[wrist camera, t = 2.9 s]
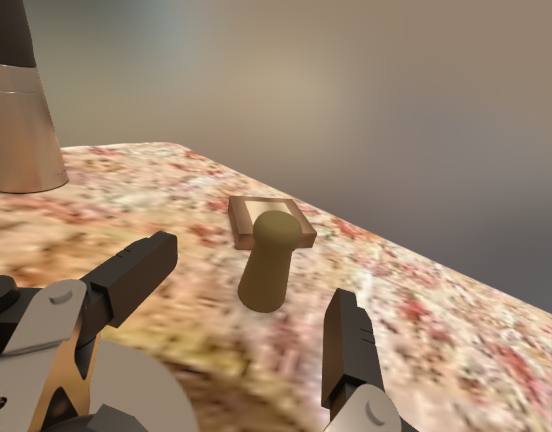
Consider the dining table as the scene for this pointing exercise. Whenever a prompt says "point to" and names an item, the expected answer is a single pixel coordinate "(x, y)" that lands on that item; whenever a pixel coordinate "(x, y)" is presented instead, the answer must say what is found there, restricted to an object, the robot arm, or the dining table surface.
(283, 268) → the brown wooden pawn
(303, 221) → the dock board
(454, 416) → the dining table surface
